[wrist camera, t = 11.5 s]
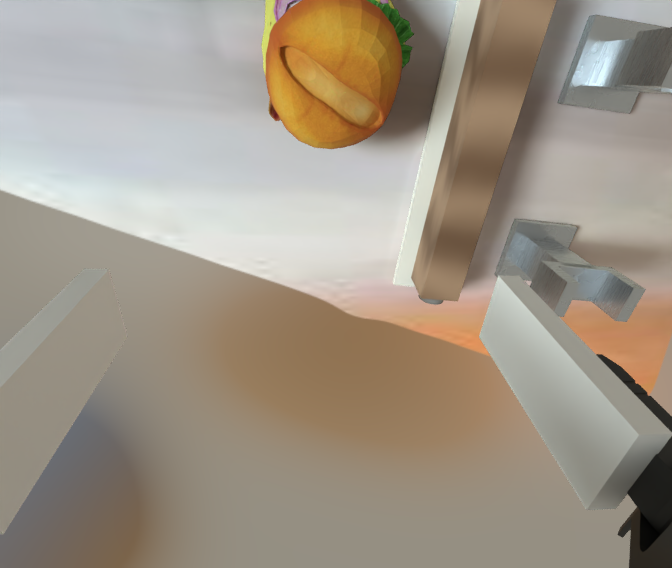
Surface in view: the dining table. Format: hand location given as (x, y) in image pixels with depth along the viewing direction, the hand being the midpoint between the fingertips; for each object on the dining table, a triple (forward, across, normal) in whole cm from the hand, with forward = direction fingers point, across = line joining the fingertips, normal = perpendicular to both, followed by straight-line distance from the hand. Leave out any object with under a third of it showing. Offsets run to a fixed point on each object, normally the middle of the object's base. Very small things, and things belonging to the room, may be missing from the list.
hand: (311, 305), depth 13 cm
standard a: (+22, +23, -8) cm, 33 cm away
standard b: (+22, +24, +8) cm, 34 cm away
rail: (+22, +13, +1) cm, 25 cm away
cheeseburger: (+23, +2, +8) cm, 24 cm away
